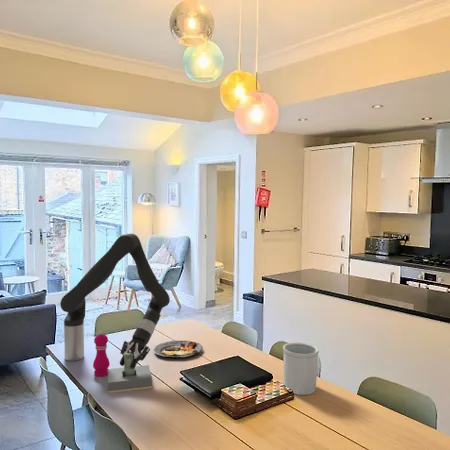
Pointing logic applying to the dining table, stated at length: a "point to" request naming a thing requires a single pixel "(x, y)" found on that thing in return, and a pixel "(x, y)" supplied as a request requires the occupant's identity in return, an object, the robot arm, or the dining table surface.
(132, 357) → the sage pin
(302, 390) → the utensil holder
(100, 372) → the pepper mill
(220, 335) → the dining table surface
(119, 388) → the pin block
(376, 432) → the dining table surface
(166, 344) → the food plate
